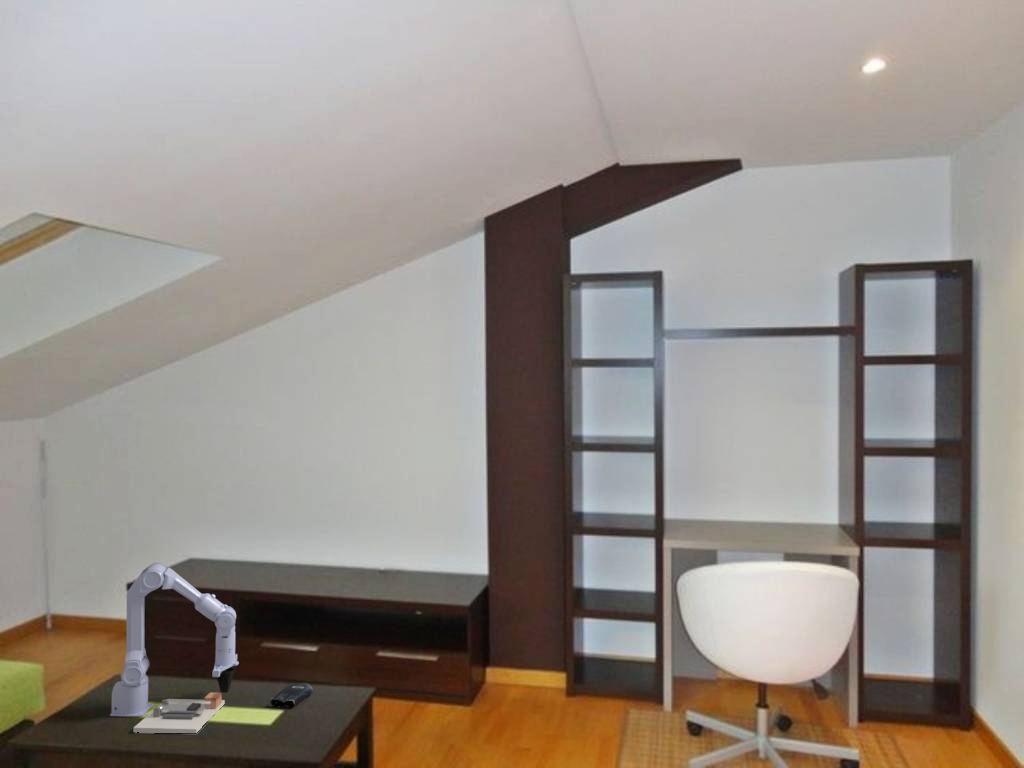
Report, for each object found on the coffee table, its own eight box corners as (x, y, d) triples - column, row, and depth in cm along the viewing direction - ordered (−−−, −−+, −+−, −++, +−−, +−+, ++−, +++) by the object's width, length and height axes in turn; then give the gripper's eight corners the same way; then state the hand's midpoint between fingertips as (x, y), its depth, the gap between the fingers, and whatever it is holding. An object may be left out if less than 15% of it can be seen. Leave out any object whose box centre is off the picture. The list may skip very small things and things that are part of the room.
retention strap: (155, 712, 222) (155, 707, 222) (161, 707, 226) (162, 701, 226) (201, 715, 222) (201, 709, 222) (207, 709, 226) (207, 703, 226)
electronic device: (297, 714, 232) (318, 689, 246) (294, 697, 231) (315, 673, 246) (269, 716, 233) (291, 690, 248) (266, 699, 233) (288, 674, 247)
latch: (204, 707, 227) (204, 697, 228) (210, 702, 231) (210, 692, 232) (216, 708, 227) (216, 698, 227) (221, 702, 231) (221, 692, 231)
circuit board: (133, 733, 214) (133, 718, 214) (167, 703, 234) (167, 690, 234) (196, 734, 214) (196, 719, 214) (224, 705, 234) (224, 691, 234)
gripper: (229, 656, 228) (228, 701, 228) (246, 640, 243) (246, 682, 243) (205, 656, 229) (205, 701, 228) (225, 640, 243) (224, 682, 243)
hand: (224, 691), depth 236 cm, fingers closed
